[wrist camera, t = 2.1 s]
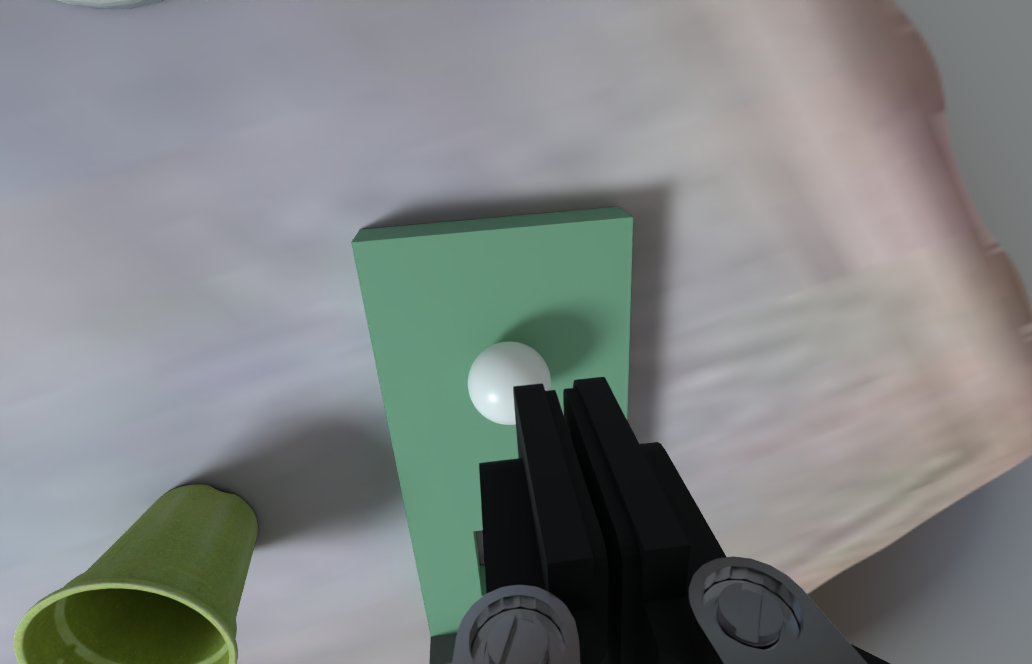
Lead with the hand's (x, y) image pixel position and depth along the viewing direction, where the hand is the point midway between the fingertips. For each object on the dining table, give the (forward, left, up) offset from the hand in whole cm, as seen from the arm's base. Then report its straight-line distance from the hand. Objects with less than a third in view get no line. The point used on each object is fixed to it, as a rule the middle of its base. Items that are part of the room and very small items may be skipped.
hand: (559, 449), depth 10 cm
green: (+14, 0, -19) cm, 23 cm away
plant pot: (+17, -19, -19) cm, 32 cm away
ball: (+7, 0, -14) cm, 16 cm away
